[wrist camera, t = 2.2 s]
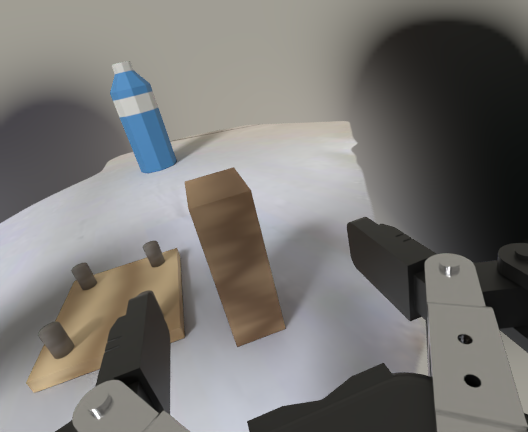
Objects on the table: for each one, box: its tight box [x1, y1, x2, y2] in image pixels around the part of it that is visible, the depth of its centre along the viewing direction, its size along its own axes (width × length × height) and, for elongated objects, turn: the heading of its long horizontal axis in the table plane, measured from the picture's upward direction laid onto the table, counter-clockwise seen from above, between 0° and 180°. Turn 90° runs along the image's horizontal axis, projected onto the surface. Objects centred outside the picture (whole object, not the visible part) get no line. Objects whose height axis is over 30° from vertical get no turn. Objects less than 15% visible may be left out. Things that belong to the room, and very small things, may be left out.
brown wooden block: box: [185, 168, 286, 347], centre depth 25 cm, size 4×6×12 cm, turn 16°
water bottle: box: [110, 61, 177, 173], centre depth 79 cm, size 9×9×25 cm
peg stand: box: [26, 241, 185, 393], centre depth 31 cm, size 12×14×4 cm
